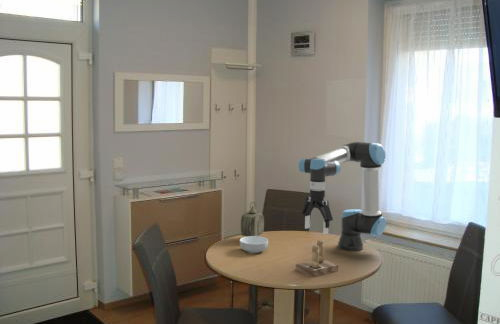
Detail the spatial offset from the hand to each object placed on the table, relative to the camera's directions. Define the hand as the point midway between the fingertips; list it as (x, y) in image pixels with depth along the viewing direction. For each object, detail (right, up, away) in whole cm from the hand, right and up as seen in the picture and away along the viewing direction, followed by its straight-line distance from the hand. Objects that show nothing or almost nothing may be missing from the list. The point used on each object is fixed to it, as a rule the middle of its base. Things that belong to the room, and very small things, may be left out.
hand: (316, 231), depth 253 cm
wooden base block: (+1, -21, +7) cm, 23 cm away
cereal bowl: (-31, -18, +39) cm, 53 cm away
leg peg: (0, -22, +2) cm, 22 cm away
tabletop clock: (-32, -15, +61) cm, 70 cm away
